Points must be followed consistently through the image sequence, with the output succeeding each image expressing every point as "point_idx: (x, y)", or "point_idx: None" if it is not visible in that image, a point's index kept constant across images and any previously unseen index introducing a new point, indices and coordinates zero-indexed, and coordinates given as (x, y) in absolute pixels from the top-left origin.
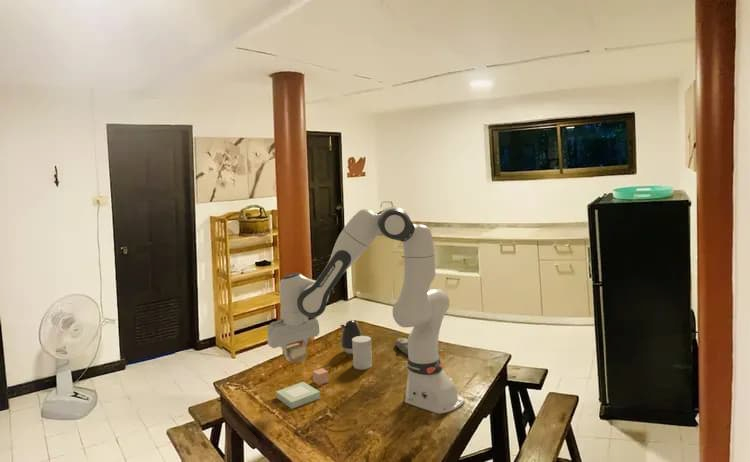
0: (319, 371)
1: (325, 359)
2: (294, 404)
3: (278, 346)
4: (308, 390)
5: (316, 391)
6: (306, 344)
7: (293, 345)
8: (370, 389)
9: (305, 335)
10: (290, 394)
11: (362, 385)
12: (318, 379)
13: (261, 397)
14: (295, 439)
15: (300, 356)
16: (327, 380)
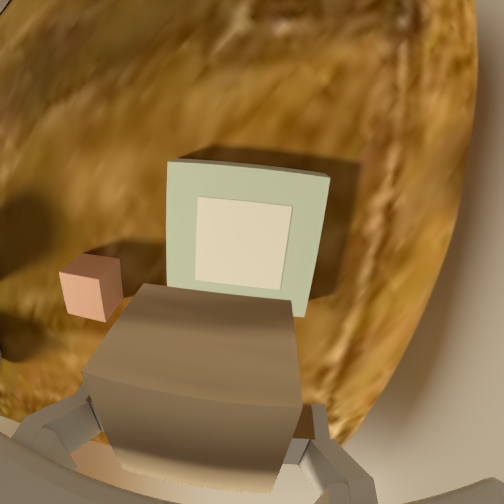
0: (85, 299)
1: (47, 369)
2: (313, 173)
3: (457, 494)
4: (198, 214)
5: (177, 176)
6: (58, 402)
7: (187, 473)
8: (24, 91)
9: (11, 489)
10: (283, 246)
11: (22, 136)
12: (109, 272)
13: (333, 339)
14: (435, 4)
15: (194, 320)
16: (83, 256)
